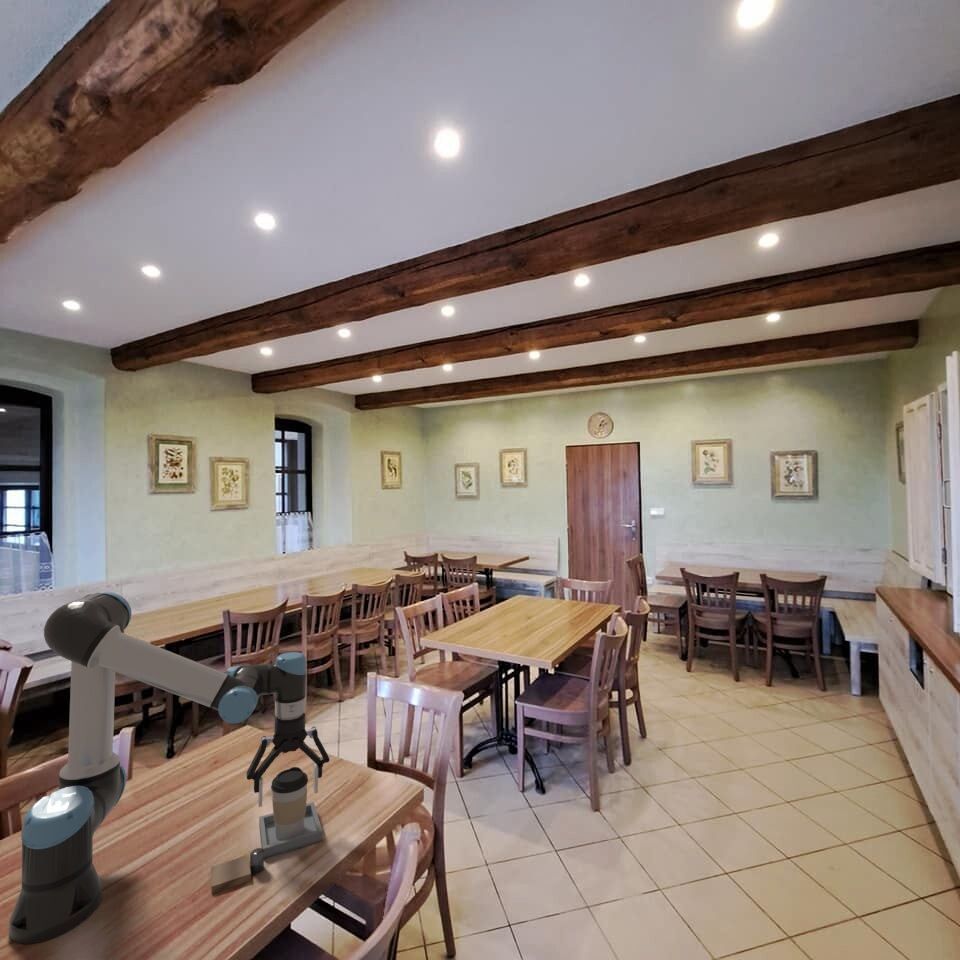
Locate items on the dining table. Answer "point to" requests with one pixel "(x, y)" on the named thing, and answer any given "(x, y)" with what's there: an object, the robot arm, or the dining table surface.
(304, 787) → the coffee cup
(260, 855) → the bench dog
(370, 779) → the dining table surface
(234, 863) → the board
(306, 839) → the tray
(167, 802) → the dining table surface
